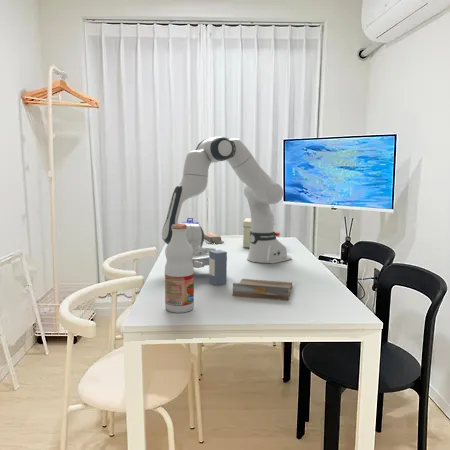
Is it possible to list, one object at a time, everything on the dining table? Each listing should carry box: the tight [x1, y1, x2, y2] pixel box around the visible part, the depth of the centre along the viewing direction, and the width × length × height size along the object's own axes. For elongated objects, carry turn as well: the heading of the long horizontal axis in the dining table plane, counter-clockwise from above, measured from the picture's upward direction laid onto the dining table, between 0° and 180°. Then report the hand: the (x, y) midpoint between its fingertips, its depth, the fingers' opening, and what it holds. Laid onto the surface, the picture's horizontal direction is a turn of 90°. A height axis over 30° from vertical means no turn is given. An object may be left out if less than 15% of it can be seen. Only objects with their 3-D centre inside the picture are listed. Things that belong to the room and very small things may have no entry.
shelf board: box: [232, 278, 293, 301], centre depth 164 cm, size 18×20×4 cm
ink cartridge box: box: [180, 217, 200, 224], centre depth 258 cm, size 10×6×14 cm, turn 78°
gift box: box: [242, 217, 251, 249], centre depth 249 cm, size 17×18×17 cm
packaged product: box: [203, 231, 225, 245], centre depth 264 cm, size 18×5×10 cm
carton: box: [208, 249, 228, 287], centre depth 172 cm, size 5×5×13 cm
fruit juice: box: [164, 224, 195, 314], centre depth 142 cm, size 9×9×28 cm
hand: (212, 263), depth 175 cm, fingers open, 8 cm apart
